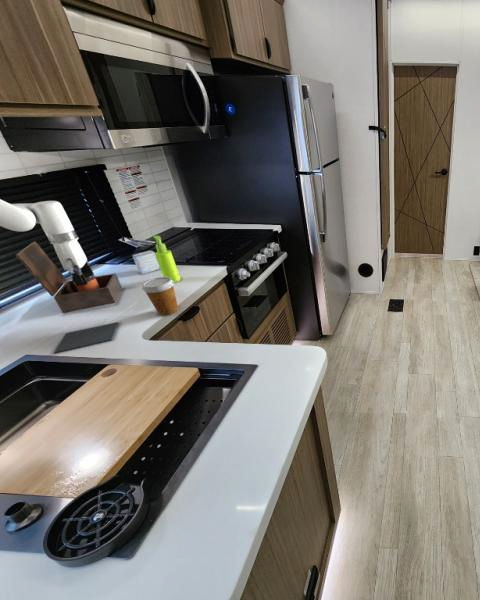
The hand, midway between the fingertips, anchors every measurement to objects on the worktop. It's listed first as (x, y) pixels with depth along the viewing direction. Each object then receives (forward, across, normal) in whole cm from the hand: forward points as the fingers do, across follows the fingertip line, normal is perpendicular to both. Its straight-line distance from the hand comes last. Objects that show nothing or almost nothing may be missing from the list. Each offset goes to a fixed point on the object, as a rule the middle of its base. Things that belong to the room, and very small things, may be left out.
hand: (85, 280), depth 127 cm
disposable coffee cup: (+10, +24, +26) cm, 36 cm away
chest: (+9, 0, 0) cm, 9 cm away
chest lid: (-7, 0, -9) cm, 11 cm away
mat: (+9, +31, +4) cm, 33 cm away
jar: (+8, 0, 0) cm, 8 cm away
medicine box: (+10, -26, +16) cm, 32 cm away
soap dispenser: (+10, -8, +26) cm, 28 cm away
